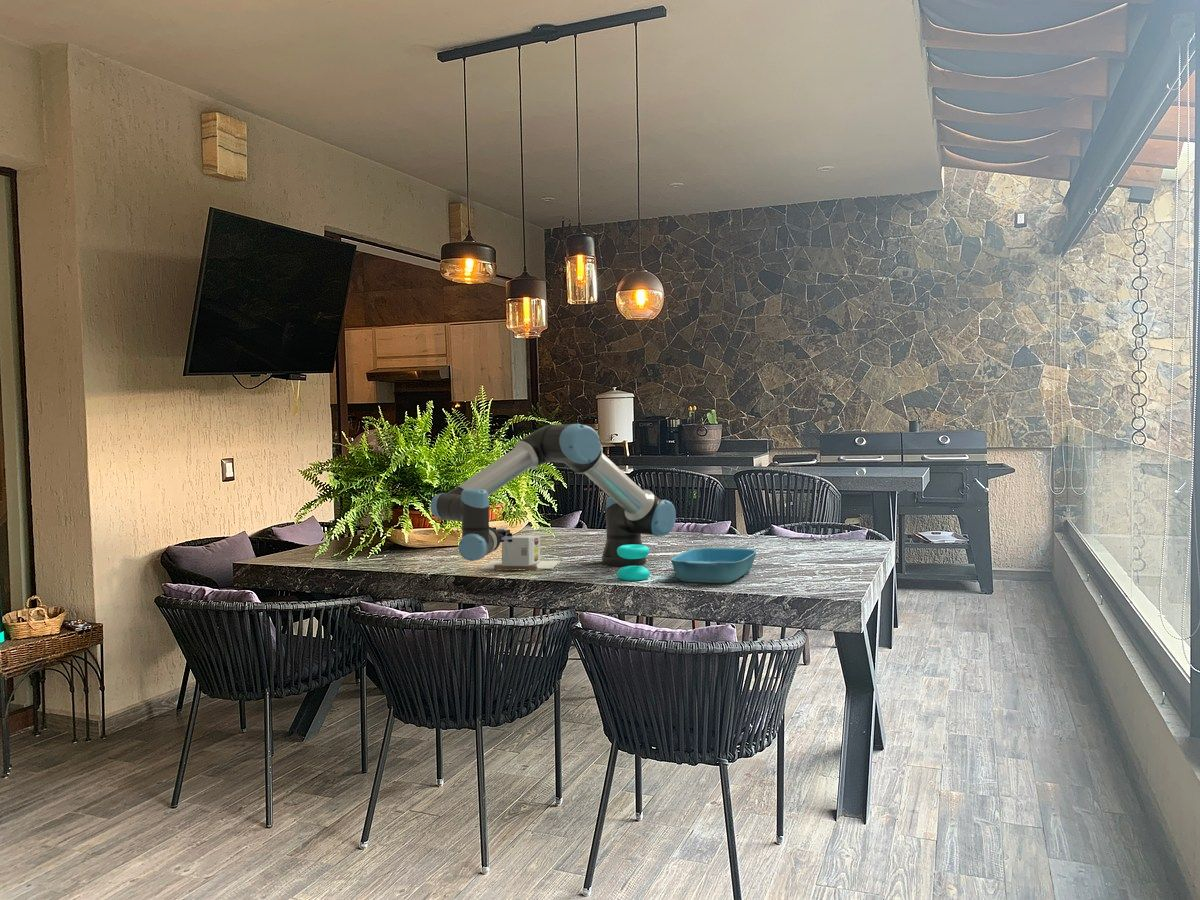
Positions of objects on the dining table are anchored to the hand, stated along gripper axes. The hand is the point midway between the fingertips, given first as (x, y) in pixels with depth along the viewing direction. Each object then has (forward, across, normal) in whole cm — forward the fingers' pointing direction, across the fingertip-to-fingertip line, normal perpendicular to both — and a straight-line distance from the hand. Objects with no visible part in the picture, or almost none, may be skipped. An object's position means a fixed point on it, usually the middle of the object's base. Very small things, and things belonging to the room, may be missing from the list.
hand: (504, 531), depth 294 cm
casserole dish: (+5, +65, -15) cm, 67 cm away
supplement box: (+10, +1, -8) cm, 13 cm away
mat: (+22, 0, -14) cm, 26 cm away
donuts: (-1, +40, -15) cm, 43 cm away
